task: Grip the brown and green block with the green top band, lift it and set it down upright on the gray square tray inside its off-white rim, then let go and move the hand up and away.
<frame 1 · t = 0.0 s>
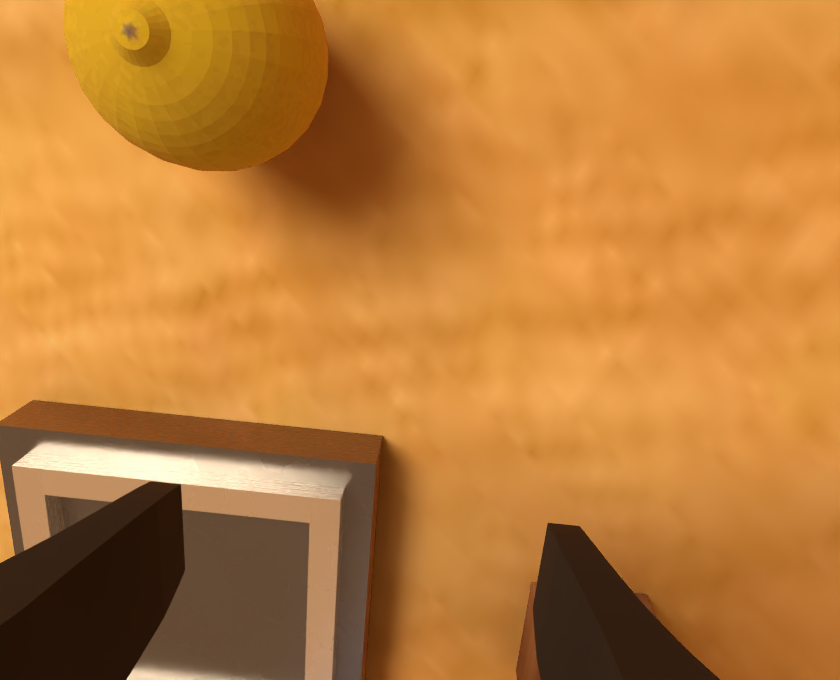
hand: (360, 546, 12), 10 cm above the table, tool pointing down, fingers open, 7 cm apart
lemon: (262, 68, 19), on the table
brown and green block: (579, 633, 25), on the table
gray square tray: (211, 563, 25), on the table
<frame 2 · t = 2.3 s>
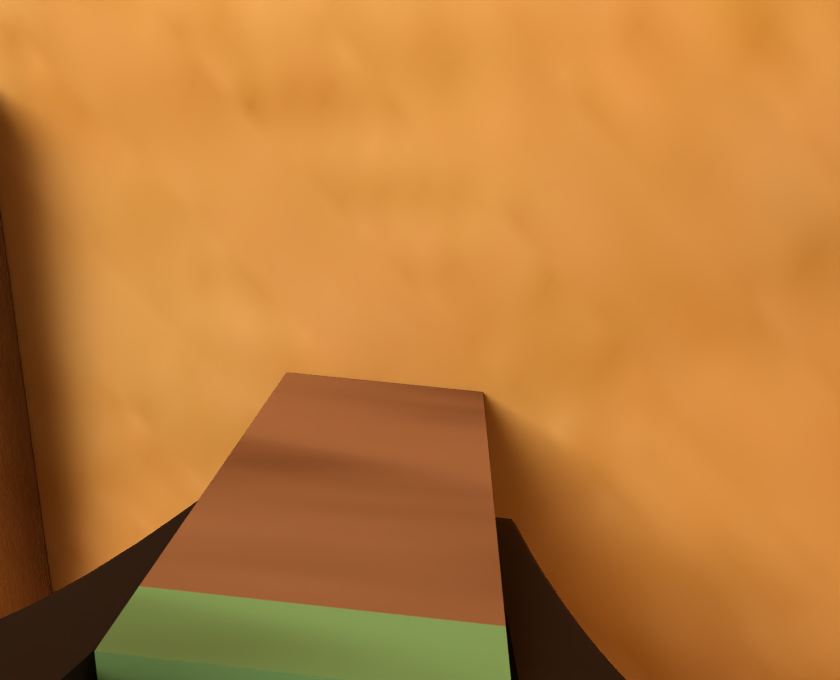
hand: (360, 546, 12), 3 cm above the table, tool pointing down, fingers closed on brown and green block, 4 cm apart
brown and green block: (378, 468, 15), on the table, touching gripper
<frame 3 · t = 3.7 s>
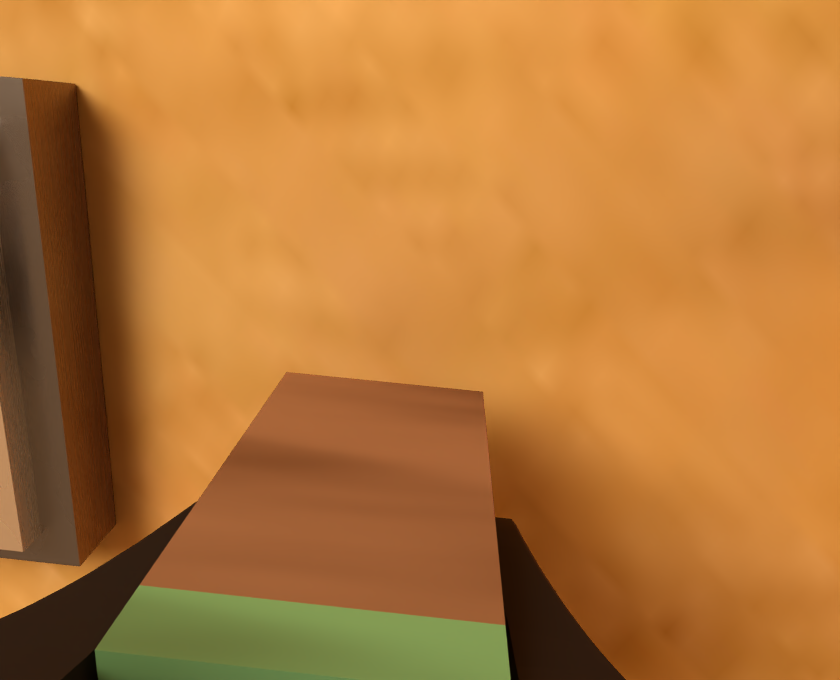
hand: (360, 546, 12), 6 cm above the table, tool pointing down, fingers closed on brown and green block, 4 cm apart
brown and green block: (378, 468, 15), point 3 cm above the table, touching gripper
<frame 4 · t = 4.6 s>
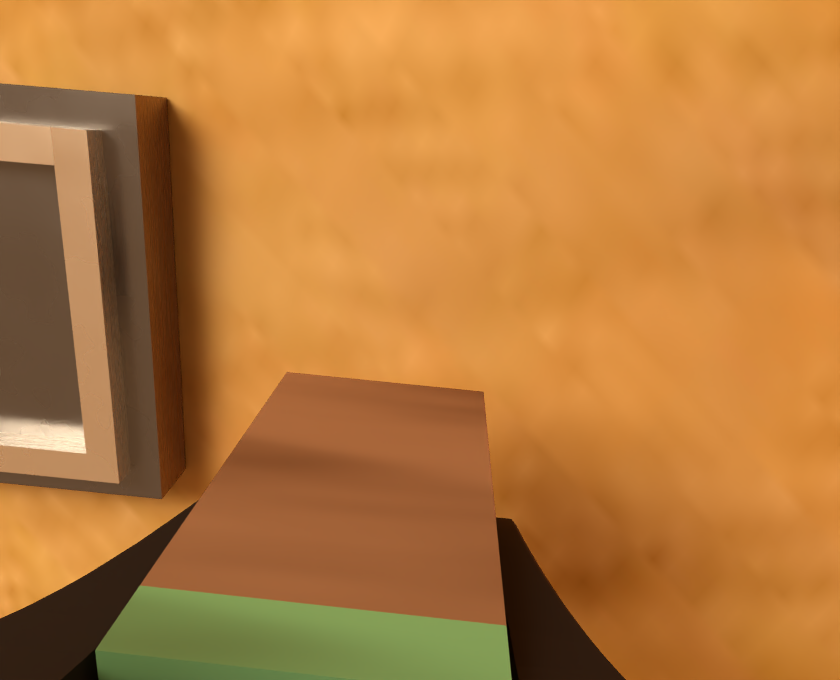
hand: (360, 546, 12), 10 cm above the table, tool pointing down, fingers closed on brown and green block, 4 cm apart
brown and green block: (378, 468, 15), point 7 cm above the table, touching gripper
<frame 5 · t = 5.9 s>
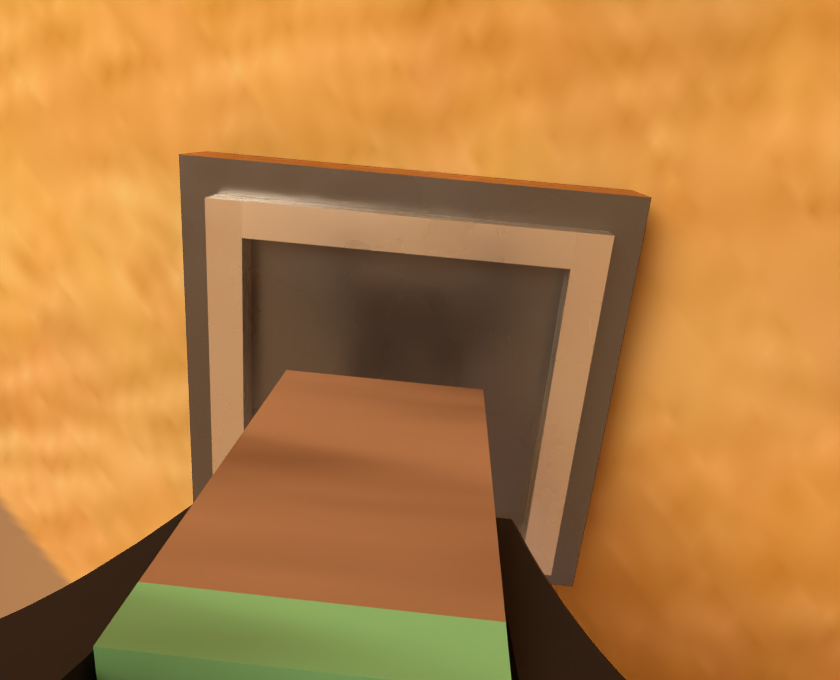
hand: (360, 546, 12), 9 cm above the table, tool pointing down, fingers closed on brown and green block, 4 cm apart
brown and green block: (378, 466, 15), point 7 cm above the table, touching gripper
gray square tray: (401, 368, 21), on the table
when the fingers open (6 cm above the table, at t = 7.1 s): brown and green block stays where it is, resting on gray square tray.
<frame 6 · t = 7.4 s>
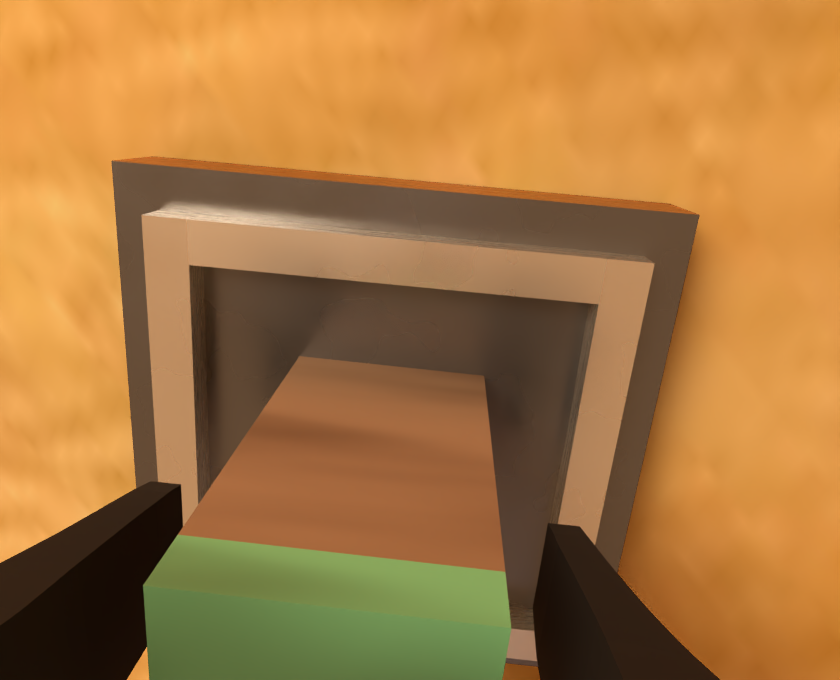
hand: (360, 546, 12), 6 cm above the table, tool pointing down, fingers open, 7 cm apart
brown and green block: (384, 447, 16), point 2 cm above the table, touching gray square tray
gray square tray: (390, 414, 18), on the table
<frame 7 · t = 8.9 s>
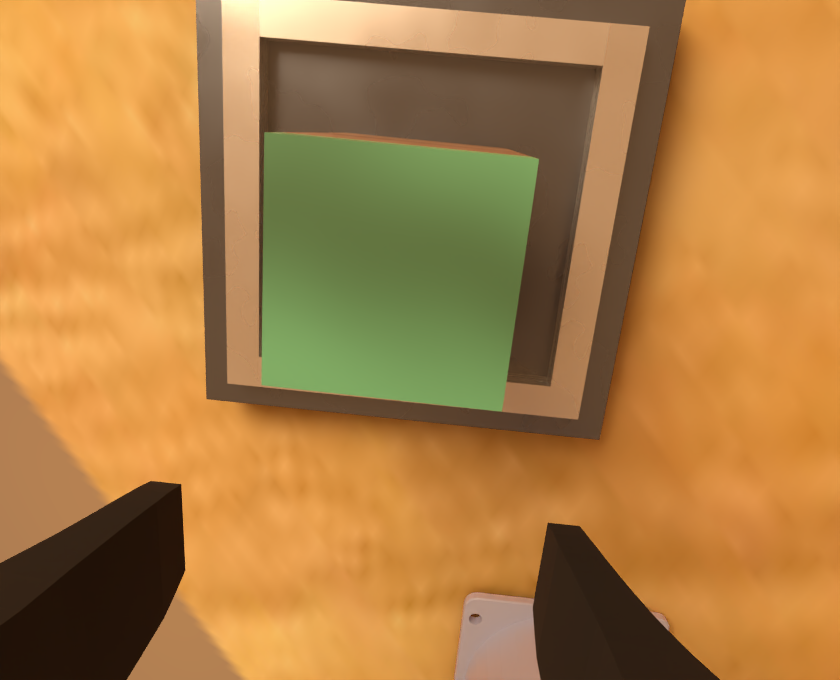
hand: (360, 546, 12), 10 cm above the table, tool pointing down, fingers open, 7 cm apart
brown and green block: (419, 219, 18), point 2 cm above the table, touching gray square tray
gray square tray: (421, 212, 20), on the table
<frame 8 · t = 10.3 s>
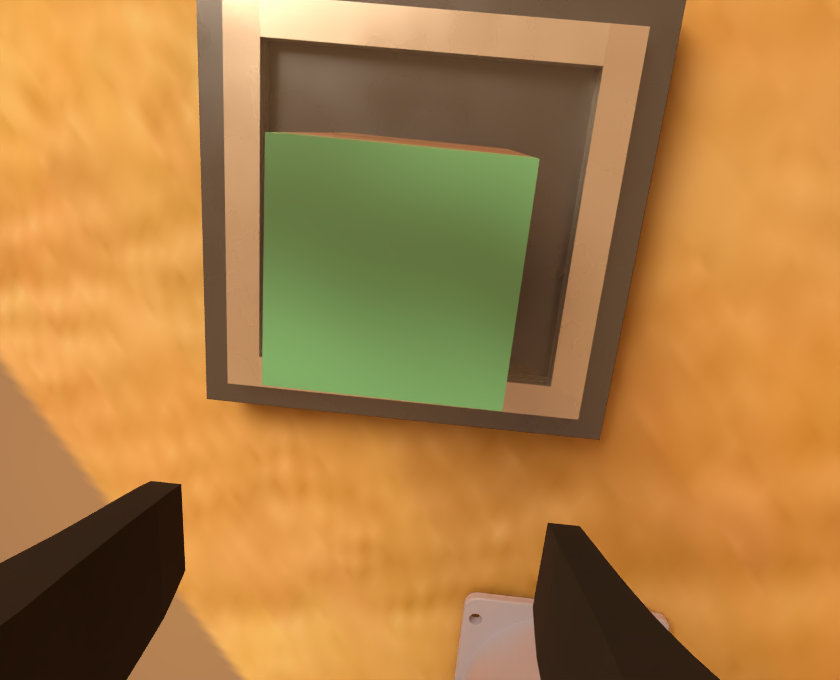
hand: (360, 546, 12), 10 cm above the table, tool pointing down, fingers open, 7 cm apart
brown and green block: (419, 219, 18), point 2 cm above the table, touching gray square tray
gray square tray: (421, 212, 20), on the table
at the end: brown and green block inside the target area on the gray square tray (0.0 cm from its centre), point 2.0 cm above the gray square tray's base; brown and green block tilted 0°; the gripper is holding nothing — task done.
